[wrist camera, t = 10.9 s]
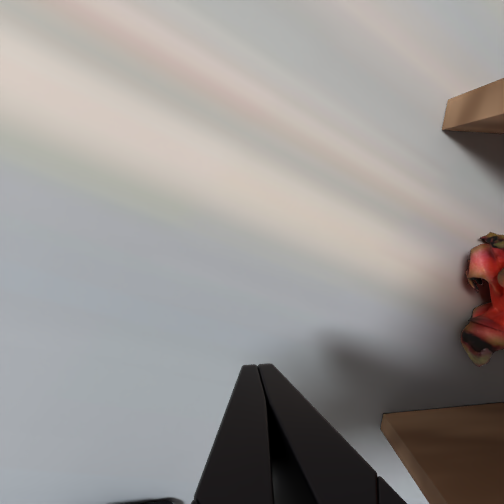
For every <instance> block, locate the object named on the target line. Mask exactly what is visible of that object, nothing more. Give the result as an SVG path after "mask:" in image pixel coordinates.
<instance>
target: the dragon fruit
mask: <svg viewBox="0 0 504 504" xmlns="http://www.w3.org/2000/svg"><path fill="white" fill-rule="evenodd" d="M480 239H484V240H485V241H486V243H490V244H480V245H479V246H476V247H474V248H473V249H471V253H470V261H469V260H468V262H470V265H469V264H468V265H469V266H470V267H469V266H468V267H469V268H468V269H467V270H466V276H467V278H468V280H469V282H468V283H470V285H471V286H472V287H473V288H474V289H476V291H477V292H478V287H477V285H476V284H477V283H478V284H480V285H481V284H482V279H481V278H483V279H485V280H486V281H488V282H489V289H490V295H491V301H492V302H491V303H487V304H483V305H481V306H478V307H476V308H474V310H473V315H472V318H470V319H469V320H468V321H470V322H469V324H468V325H467V326H466V327H465V328H464V330H463V331H462V333H461V343H462V346H463V348H464V349H465V351H466V352H467V353H468V356H469V358H470V359H471V360H472V362H473V363H474V364H475V365H477V366H478V367H480V366H482V365H484V364H487V363H488V362H489V360H490V357H491V356H492V354H493V353H494V352H495V351H498V350H502V349H504V235H496V234H495V233H492V232H490V233H489V234H487V235H486V236H483V237H481V238H480ZM474 280H476V281H477V283H474ZM484 283H485V282H484Z"/></svg>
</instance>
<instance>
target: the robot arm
mask: <svg viewBox="0 0 504 504" xmlns="http://www.w3.org/2000/svg"><path fill="white" fill-rule="evenodd" d="M146 504H173V503H172V502H169V501H162V502H154V503H146ZM191 504H407V503H406V502H405V501H404V500H403V499H402V498H401V497H400V496H399V495H398V494H397V493H396V492H395V491H394V490H393V489H392V488H391V487H390V486H389V485H388V484H387V482H386V481H385V480H384V479H383V478H382V477H380V476H378V477H377V473H376V471H375V470H374V469H373V468H372V467H371V466H370V465H369V464H368V463H367V462H366V461H365V460H364V459H363V458H362V457H361V456H360V455H359V454H358V453H357V452H356V450H355V449H354V448H353V447H352V446H351V445H350V444H349V443H348V442H347V441H346V440H345V439H344V438H343V437H342V436H341V435H340V434H339V433H338V432H337V431H336V430H335V429H334V428H333V427H332V425H331V424H330V423H329V422H328V421H327V420H326V419H325V418H324V417H323V416H322V415H321V414H320V413H319V412H318V411H317V410H316V409H315V408H314V407H313V406H312V405H311V404H310V403H309V402H308V401H307V399H306V398H305V397H304V396H303V395H302V394H301V393H300V392H299V391H298V390H297V389H296V388H295V387H294V386H293V385H292V384H291V383H290V382H289V381H288V380H287V379H286V378H285V377H284V376H283V375H282V373H281V372H280V371H279V370H278V369H277V368H276V367H275V366H274V365H273V364H270V363H269V364H259V365H258V366H257V365H255V364H253V365H243V366H242V368H241V370H240V373H239V376H238V379H237V381H236V384H235V387H234V389H233V392H232V395H231V397H230V400H229V403H228V406H227V408H226V411H225V414H224V416H223V419H222V422H221V425H220V427H219V430H218V433H217V435H216V438H215V441H214V444H213V446H212V449H211V452H210V454H209V457H208V460H207V462H206V465H205V468H204V471H203V473H202V476H201V479H200V481H199V484H198V487H197V490H196V492H195V495H194V500H193V501H192V502H191Z"/></svg>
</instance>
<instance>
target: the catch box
mask: <svg viewBox="0 0 504 504" xmlns="http://www.w3.org/2000/svg"><path fill="white" fill-rule="evenodd" d="M442 130H452V131H467V132H483V133H498V134H504V78H503V79H500V80H497V81H495V82H492V83H490V84H487V85H485V86H482V87H480V88H477V89H474V90H472V91H469V92H467V93H464V94H462V95H459V96H456V97H454V98H451V99H449V100H448V103H447V107H446V112H445V117H444V122H443V127H442ZM380 429H381V431H382V432H383V434H384V435H385V437H386V438H387V440H388V442H389V443H390V445H391V446H392V448H393V449H394V451H395V452H396V454H397V455H398V457H399V458H400V460H401V461H402V463H403V464H404V466H405V467H406V469H407V470H408V472H409V473H410V475H411V476H412V478H413V479H414V481H415V482H416V484H417V485H418V487H419V488H420V490H421V491H422V493H423V495H424V496H425V498H426V499H427V501H428V502H429V504H504V402H503V403H492V404H482V405H471V406H461V407H450V408H440V409H429V410H419V411H409V412H398V413H388V414H383V419H382V423H381V428H380Z"/></svg>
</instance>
